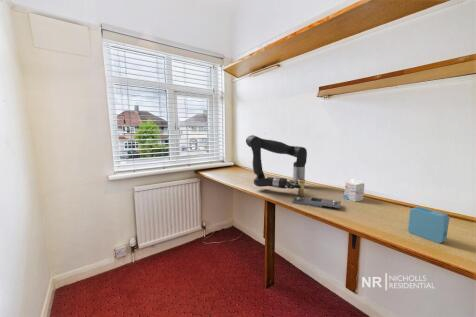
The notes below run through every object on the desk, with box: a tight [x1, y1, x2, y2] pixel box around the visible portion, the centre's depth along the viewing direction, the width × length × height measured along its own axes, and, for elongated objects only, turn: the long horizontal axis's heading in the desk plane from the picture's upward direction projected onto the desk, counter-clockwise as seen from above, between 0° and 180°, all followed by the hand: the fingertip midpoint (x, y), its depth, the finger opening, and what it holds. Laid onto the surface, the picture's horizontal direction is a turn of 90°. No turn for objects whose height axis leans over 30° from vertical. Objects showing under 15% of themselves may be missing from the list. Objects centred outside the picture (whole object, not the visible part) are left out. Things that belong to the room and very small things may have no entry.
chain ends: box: [291, 196, 342, 209], centre depth 131 cm, size 28×9×4 cm, turn 61°
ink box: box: [343, 178, 365, 202], centre depth 139 cm, size 9×8×13 cm
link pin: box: [297, 179, 306, 198], centre depth 147 cm, size 5×5×12 cm
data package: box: [407, 206, 450, 244], centre depth 91 cm, size 12×4×12 cm, turn 30°
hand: (301, 185), depth 146 cm, fingers open, 8 cm apart
